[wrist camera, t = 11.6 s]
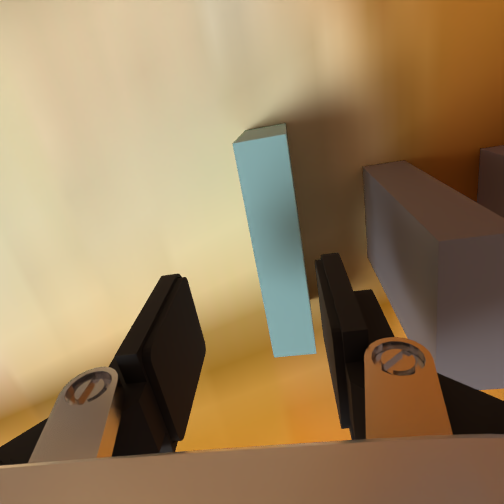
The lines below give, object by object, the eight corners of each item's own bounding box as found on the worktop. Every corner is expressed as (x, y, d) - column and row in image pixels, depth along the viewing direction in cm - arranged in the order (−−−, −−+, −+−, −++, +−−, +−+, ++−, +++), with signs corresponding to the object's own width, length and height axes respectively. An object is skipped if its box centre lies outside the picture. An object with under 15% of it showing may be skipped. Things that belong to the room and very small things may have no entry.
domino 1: (245, 130, 18) (276, 302, 22) (232, 143, 14) (274, 357, 18) (285, 123, 18) (309, 298, 22) (285, 133, 13) (316, 353, 17)
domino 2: (367, 257, 20) (434, 393, 11) (362, 166, 18) (438, 241, 9) (405, 252, 20) (506, 388, 11) (404, 160, 18) (525, 231, 9)
